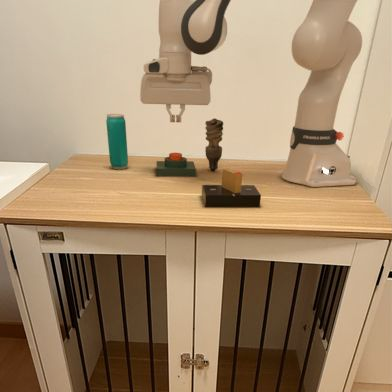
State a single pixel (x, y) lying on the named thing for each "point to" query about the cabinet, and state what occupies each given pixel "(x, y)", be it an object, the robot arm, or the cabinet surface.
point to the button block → (176, 167)
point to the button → (175, 156)
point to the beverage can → (117, 141)
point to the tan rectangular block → (231, 180)
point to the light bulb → (214, 142)
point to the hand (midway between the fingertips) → (175, 122)
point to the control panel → (230, 196)
